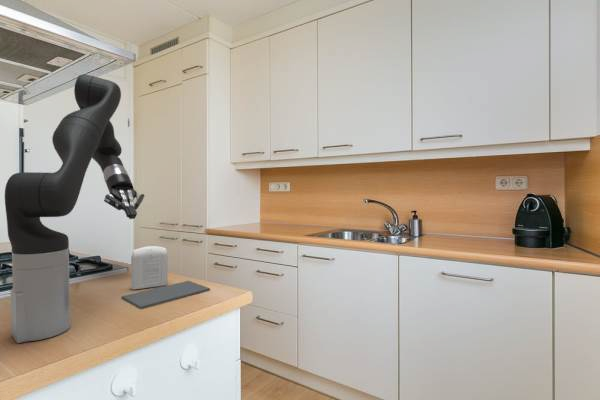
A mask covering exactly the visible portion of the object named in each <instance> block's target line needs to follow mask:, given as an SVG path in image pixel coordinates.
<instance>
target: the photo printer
mask: <svg viewBox="0 0 600 400" xmlns="http://www.w3.org/2000/svg"><path fill="white" fill-rule="evenodd" d="M130 257H131V258H130V259H131V260H130V262H131V263H130V269H131V270H130V289H132V290H134V291H136V290H142V289H147V288H148V289H149V288H155V287H156V288H157V287H163V286H168V281H169V279H168V276H169V275H168V274H169V272H168V265H169V264H168V262H169V261H168V258H169V256H168V251H167V248H166V247H163V246H159V245H158V246H156V245H154V246H153V245H148V246H142V247H138V248H136V249H133V250H132V254H131V255H130Z"/></svg>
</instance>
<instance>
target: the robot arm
mask: <svg viewBox="0 0 600 400" xmlns="http://www.w3.org/2000/svg"><path fill="white" fill-rule="evenodd" d="M73 92H74V99H75V102H76V104H77V106H78V108H79V109H77V110H74V111H72V112H70V113H68V114H66V115H65V116H64V117H63V118H62V119H61V120H60V121H59V123H58V125H57V127H56V128H55V130H54V132H53V134H52V136H51V138H52V141H51V142H52V145H53V148H54V150H55V152H56V154H57V155H58V157H59V158H60V160H61V162H62V164H61V166H60V168H59V169H58V170H57V171H54V172H39V171H38V172H30V171H29V172H24V171H23V172H16V173H14V174H12V175H11V176H9V178H8V179H7V182H6V184H5V189H4V206H5V214H6V225H7V237H8V240H9V242H10V245H11V262H12V263H11V264H12V265H11V266H12V273H11V274H12V288H11V289H10V307H11V309H10V310H11V311H10V313H11V314H10V315H11V335H12V337H13V339H14V341H15V342H16V344H21V343H25V342H33V341H41V340H45V339H46V340H47V339H49V338H52V337H55V336H58V335H61V334H63V333H64V332H66V331H68V330H69V329H70V328H71V294H70V291H71V290H70V262H69V261H70V253H69V252H70V251H69V250H70V248H69V247H70V245H69V241H70V240H69V236H68V235H67V234H65V233H64V232H60V231H57V230H53V229H51V228H49V227H47V226H46V225H44V224H43V223H42V220H41V218H60V217H65V216H68V215H69V214H71V212H72V211H73V210H74V208H75V206H76V204H77V202H78V199H79V197H80V196H79V195H80V193H81V189H82V185H83V184H84V183H83V182H84V179H85V175H86V173H87V171H88V168H89V165H90V163H91V161H92V159H93V160H94V161H95V162H96V163H97V165H98V166H99V167H100V169H101V171H102V175H103V179H104V182H105V185H106V187H107V190H108V192H109V194H106V195H105V197H104V200H103V201H104V203H106V204H107V205H110V206H111V207H113V208H114V209H115V210H117V211H121V210H123V211H124V214H125V216H126V218H127V219H129V220H135V219H136V217H137V214H138V212H137V210H138V208H139V207H140V205H141V204H142V202H143V200H144V198H145V194H143V193H141V194H139V193H137V190H135V189H134V185H133V183H132V180H131V178H130V176H129V174H128V171H127V170H126V168H125V166H124V163H123V161H122V159H121V158H120V157H119V156H121V154H122V151H123V150H122V145H121V144H120V142H119V141H118V140H117V139H116V136H115V129H114V126H113V123H112V122H111V119H112V118H113V116H114V114H115V112H116V111H117V109H118V108H119V107H118V106H119V104H120V102H121V97H122V92H121V87H120V86H119V85H118V84H117V83H116V82H114V81H111V80H110V79H105V78H102V77H97V76H93V75H90V74H80V75H79V76H77V78H76V80H75V83H74V91H73ZM135 198H136V199H135ZM135 200H136V202H135V203H134V201H135Z"/></svg>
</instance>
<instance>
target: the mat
mask: <svg viewBox="0 0 600 400" xmlns="http://www.w3.org/2000/svg"><path fill="white" fill-rule="evenodd" d="M209 291H211V288H210V287H207V286H205V285H202V284H200V283H199V284H198V283H196V282H194V281H191V280H186V281H182V282H178V283H172V284H167V285H164V286H158V287H156V288H155V287H154V288H152V289H147V290H143V291H138V292H133V293H130V294H125V295H121V299H122V300H124V301H126V302H128V303H129V304H130V305H132V306H135V307H136V308H137V309H140V310H142V309H146V308H150V307H154V306H156V305H162V304H164V303H167V302H171V301H175V300H179V299H183V298H187V297H190V296H194V295H197V294H201V293H205V292H209Z"/></svg>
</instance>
